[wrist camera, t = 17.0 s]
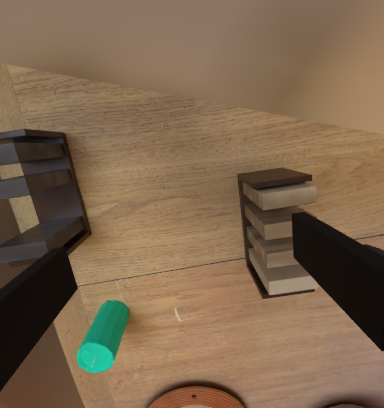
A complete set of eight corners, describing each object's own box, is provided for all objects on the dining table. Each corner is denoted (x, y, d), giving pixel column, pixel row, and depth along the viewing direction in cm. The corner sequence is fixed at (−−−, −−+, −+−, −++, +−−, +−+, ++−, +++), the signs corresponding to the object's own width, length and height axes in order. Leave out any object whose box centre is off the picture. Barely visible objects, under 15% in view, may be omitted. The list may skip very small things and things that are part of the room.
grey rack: (16, 139, 39) (-55, 138, 28) (64, 132, 39) (12, 127, 28) (48, 240, 44) (-2, 275, 32) (91, 233, 44) (57, 266, 32)
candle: (130, 302, 47) (112, 354, 36) (127, 327, 49) (109, 385, 37) (100, 298, 47) (72, 349, 35) (98, 323, 48) (70, 380, 37)
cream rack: (237, 174, 42) (257, 186, 30) (282, 167, 41) (320, 176, 30) (246, 266, 46) (266, 308, 34) (287, 260, 46) (322, 300, 34)
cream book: (248, 248, 44) (268, 281, 33) (286, 243, 44) (318, 274, 33) (249, 259, 44) (269, 295, 34) (286, 253, 44) (318, 288, 34)
